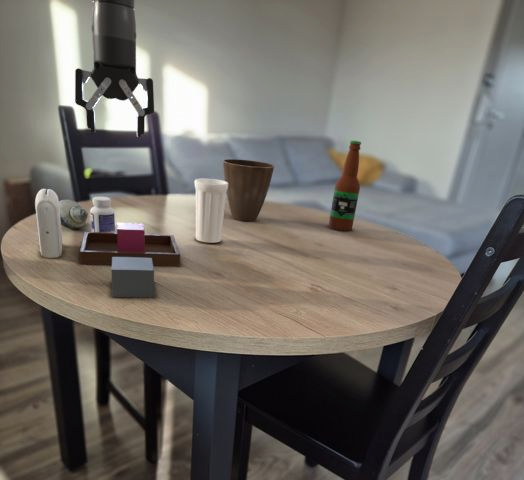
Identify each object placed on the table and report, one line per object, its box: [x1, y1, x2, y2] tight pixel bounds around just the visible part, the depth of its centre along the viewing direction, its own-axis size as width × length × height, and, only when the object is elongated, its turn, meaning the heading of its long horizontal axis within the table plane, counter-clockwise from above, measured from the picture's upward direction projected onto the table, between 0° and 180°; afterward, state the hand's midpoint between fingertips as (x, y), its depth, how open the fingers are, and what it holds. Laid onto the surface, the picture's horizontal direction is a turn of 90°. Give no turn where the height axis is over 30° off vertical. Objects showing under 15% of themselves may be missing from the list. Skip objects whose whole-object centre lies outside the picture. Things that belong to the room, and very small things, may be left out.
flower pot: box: [222, 158, 275, 222], centre depth 143 cm, size 15×15×16 cm
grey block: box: [110, 257, 155, 298], centre depth 86 cm, size 7×7×5 cm
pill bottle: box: [89, 196, 116, 233], centre depth 112 cm, size 5×5×9 cm
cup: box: [194, 177, 228, 244], centre depth 117 cm, size 8×8×14 cm
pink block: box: [116, 222, 146, 252], centre depth 103 cm, size 6×6×6 cm
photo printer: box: [34, 188, 63, 259], centre depth 98 cm, size 10×4×12 cm, turn 20°
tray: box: [79, 231, 181, 267], centre depth 104 cm, size 20×15×3 cm
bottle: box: [328, 140, 362, 232], centre depth 143 cm, size 7×7×25 cm
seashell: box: [59, 198, 89, 230], centre depth 117 cm, size 6×8×12 cm
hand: (116, 134), depth 94 cm, fingers open, 8 cm apart
